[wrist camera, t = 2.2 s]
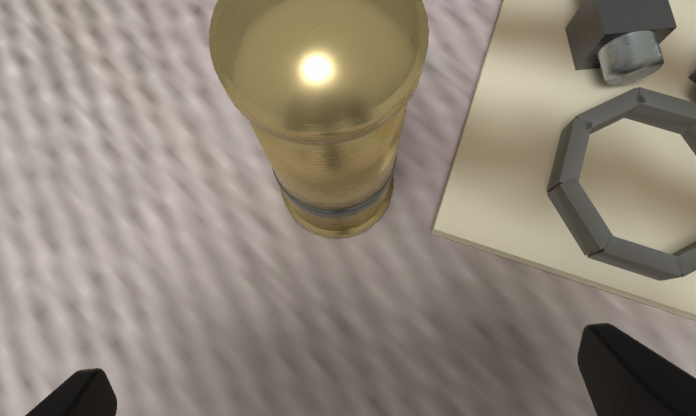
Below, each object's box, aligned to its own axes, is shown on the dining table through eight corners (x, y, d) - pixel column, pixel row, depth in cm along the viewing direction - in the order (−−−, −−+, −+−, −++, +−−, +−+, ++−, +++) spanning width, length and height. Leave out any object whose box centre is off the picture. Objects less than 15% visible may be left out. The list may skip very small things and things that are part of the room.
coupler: (315, 259, 23) (272, 172, 11) (263, 166, 24) (173, -3, 12) (412, 203, 24) (471, 65, 12) (356, 116, 25) (358, -92, 13)
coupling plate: (798, 354, 22) (853, 356, 19) (430, 233, 23) (438, 221, 21) (840, -39, 27) (888, -76, 25) (537, -115, 29) (554, -157, 26)
